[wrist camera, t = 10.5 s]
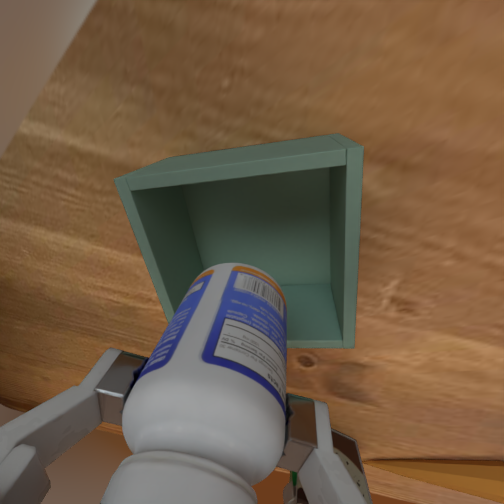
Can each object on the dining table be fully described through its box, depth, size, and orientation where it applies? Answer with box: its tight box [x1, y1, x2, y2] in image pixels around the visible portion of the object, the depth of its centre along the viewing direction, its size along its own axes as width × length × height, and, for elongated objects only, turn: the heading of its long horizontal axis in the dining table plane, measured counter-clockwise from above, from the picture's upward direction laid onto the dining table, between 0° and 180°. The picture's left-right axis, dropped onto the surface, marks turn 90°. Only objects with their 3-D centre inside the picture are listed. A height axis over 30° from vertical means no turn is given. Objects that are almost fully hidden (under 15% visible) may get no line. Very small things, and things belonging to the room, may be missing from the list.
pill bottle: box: [100, 263, 287, 504], centre depth 10 cm, size 5×5×10 cm
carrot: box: [362, 459, 504, 504], centre depth 36 cm, size 20×4×4 cm, turn 103°
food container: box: [283, 428, 373, 504], centre depth 34 cm, size 12×6×10 cm, turn 61°
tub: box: [114, 133, 364, 349], centre depth 20 cm, size 14×14×8 cm
